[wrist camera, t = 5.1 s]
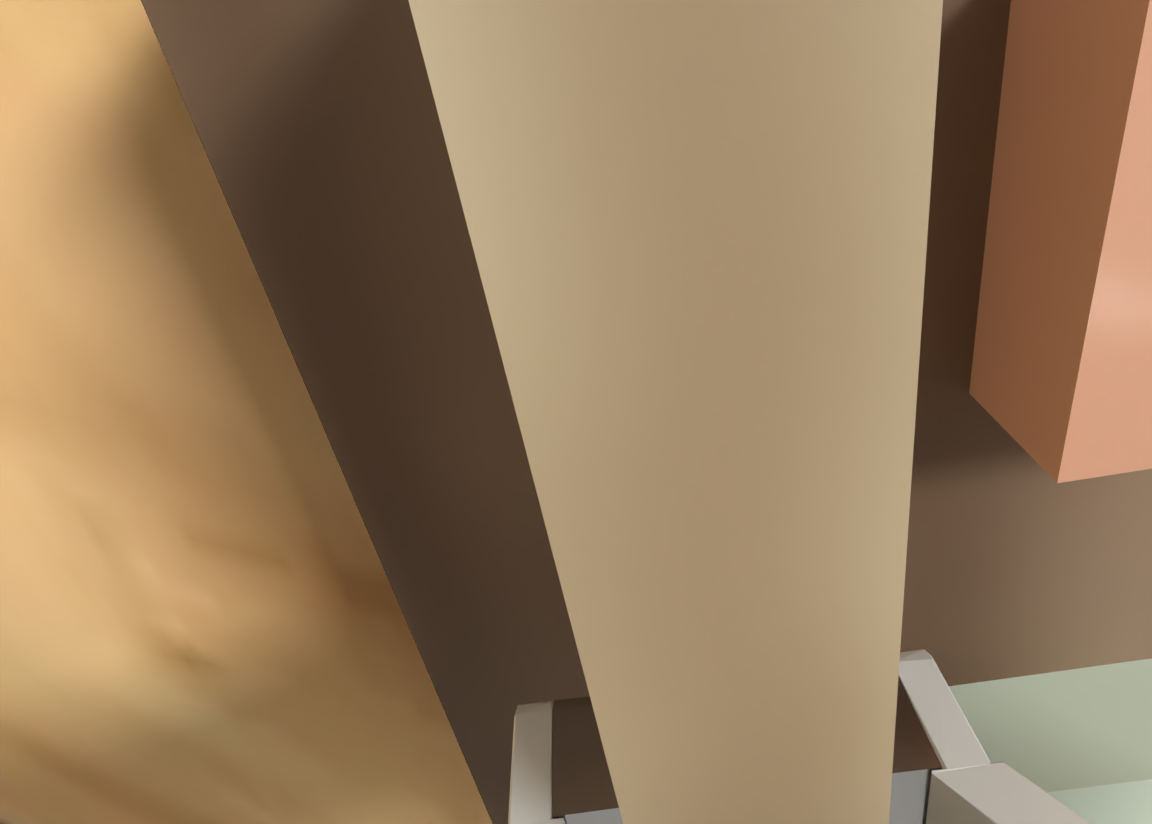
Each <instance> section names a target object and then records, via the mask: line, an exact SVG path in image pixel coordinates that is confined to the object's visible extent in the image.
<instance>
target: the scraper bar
mask: <svg viewBox="0 0 1152 824" xmlns="http://www.w3.org/2000/svg"><path fill="white" fill-rule="evenodd" d="M408 1H409V5H410V8H411V12H412V16H413V20H414V24H415V28H416V31H417V35H418V39H419V43H420V47H421V51H422V54H423V58H424V62H425V66H426V70H427V74H428V77H429V81H430V85H431V89H432V93H433V97H434V100H435V104H436V108H437V112H438V116H439V120H440V123H441V127H442V131H443V135H444V139H445V143H446V146H447V150H448V154H449V158H450V162H451V166H452V169H453V173H454V177H455V181H456V185H457V189H458V192H459V196H460V200H461V204H462V208H463V212H464V215H465V219H466V223H467V227H468V231H469V235H470V238H471V242H472V246H473V250H474V254H475V258H476V261H477V265H478V269H479V273H480V277H481V281H482V284H483V288H484V292H485V296H486V300H487V304H488V307H489V311H490V315H491V319H492V323H493V327H494V330H495V334H496V338H497V342H498V346H499V350H500V353H501V357H502V361H503V365H504V369H505V373H506V377H507V380H508V384H509V388H510V392H511V396H512V400H513V403H514V407H515V411H516V415H517V419H518V423H519V426H520V430H521V434H522V438H523V442H524V446H525V449H526V453H527V457H528V461H529V465H530V469H531V472H532V476H533V480H534V484H535V488H536V492H537V495H538V499H539V503H540V507H541V511H542V515H543V518H544V522H545V526H546V530H547V534H548V538H549V541H550V545H551V549H552V553H553V557H554V561H555V564H556V568H557V572H558V576H559V580H560V584H561V587H562V591H563V595H564V599H565V603H566V607H567V610H568V614H569V618H570V622H571V626H572V630H573V633H574V637H575V641H576V645H577V649H578V653H579V656H580V660H581V664H582V668H583V672H584V676H585V679H586V683H587V687H588V691H589V695H590V699H591V702H592V706H593V710H594V714H595V718H596V722H597V725H598V729H599V733H600V737H601V741H602V745H603V748H604V752H605V756H606V760H607V764H608V768H609V771H610V775H611V779H612V783H613V787H614V791H615V794H616V798H617V802H618V806H619V810H620V814H621V817H622V821H623V824H889V814H890V798H891V783H892V768H893V753H894V738H895V723H896V707H897V692H898V677H899V662H900V647H901V631H902V616H903V601H904V586H905V571H906V555H907V540H908V525H909V510H910V495H911V479H912V464H913V449H914V434H915V419H916V403H917V388H918V373H919V358H920V343H921V327H922V312H923V297H924V282H925V267H926V252H927V236H928V221H929V206H930V191H931V176H932V160H933V145H934V130H935V115H936V100H937V84H938V69H939V54H940V39H941V24H942V8H943V0H408Z"/></svg>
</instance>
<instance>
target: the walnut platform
mask: <svg viewBox="0 0 1152 824" xmlns="http://www.w3.org/2000/svg"><path fill="white" fill-rule="evenodd" d="M141 2H142V4H143V6H144V9H145V11H146V13H147V16H148V18H149V20H150V23H151V25H152V27H153V30H154V32H155V34H156V37H157V39H158V41H159V44H160V46H161V48H162V51H163V53H164V55H165V58H166V60H167V62H168V65H169V67H170V69H171V72H172V74H173V76H174V79H175V81H176V83H177V86H178V88H179V90H180V93H181V95H182V97H183V100H184V102H185V104H186V107H187V109H188V112H189V114H190V116H191V119H192V121H193V123H194V126H195V128H196V130H197V133H198V135H199V137H200V140H201V142H202V144H203V147H204V149H205V151H206V154H207V156H208V158H209V161H210V163H211V165H212V168H213V170H214V172H215V175H216V177H217V179H218V182H219V184H220V186H221V189H222V191H223V193H224V196H225V198H226V200H227V203H228V205H229V207H230V210H231V212H232V214H233V217H234V219H235V221H236V224H237V226H238V228H239V231H240V233H241V236H242V238H243V240H244V243H245V245H246V247H247V250H248V252H249V254H250V257H251V259H252V261H253V264H254V266H255V268H256V271H257V273H258V275H259V278H260V280H261V282H262V285H263V287H264V289H265V292H266V294H267V296H268V299H269V301H270V303H271V306H272V308H273V310H274V313H275V315H276V317H277V320H278V322H279V324H280V327H281V329H282V331H283V334H284V336H285V338H286V341H287V343H288V345H289V348H290V350H291V353H292V355H293V357H294V360H295V362H296V364H297V367H298V369H299V371H300V374H301V376H302V378H303V381H304V383H305V385H306V388H307V390H308V392H309V395H310V397H311V399H312V402H313V404H314V406H315V409H316V411H317V413H318V416H319V418H320V420H321V423H322V425H323V427H324V430H325V432H326V434H327V437H328V439H329V441H330V444H331V446H332V448H333V451H334V453H335V455H336V458H337V460H338V462H339V465H340V467H341V469H342V472H343V474H344V477H345V479H346V481H347V484H348V486H349V488H350V491H351V493H352V495H353V498H354V500H355V502H356V505H357V507H358V509H359V512H360V514H361V516H362V519H363V521H364V523H365V526H366V528H367V530H368V533H369V535H370V537H371V540H372V542H373V544H374V547H375V549H376V551H377V554H378V556H379V558H380V561H381V563H382V565H383V568H384V570H385V572H386V575H387V577H388V579H389V582H390V584H391V586H392V589H393V591H394V593H395V596H396V598H397V601H398V603H399V605H400V608H401V610H402V612H403V615H404V617H405V619H406V622H407V624H408V626H409V629H410V631H411V633H412V636H413V638H414V640H415V643H416V645H417V647H418V650H419V652H420V654H421V657H422V659H423V661H424V664H425V666H426V668H427V671H428V673H429V675H430V678H431V680H432V682H433V685H434V687H435V689H436V692H437V694H438V696H439V699H440V701H441V703H442V706H443V708H444V710H445V713H446V715H447V717H448V720H449V722H450V725H451V727H452V729H453V732H454V734H455V736H456V739H457V741H458V743H459V746H460V748H461V750H462V753H463V755H464V757H465V760H466V762H467V764H468V767H469V769H470V771H471V774H472V776H473V778H474V781H475V783H476V785H477V788H478V790H479V792H480V795H481V797H482V799H483V802H484V804H485V806H486V809H487V811H488V813H489V816H490V818H491V820H492V823H493V824H508V813H509V796H510V779H511V762H512V745H513V728H514V716H515V713H516V709H517V706H518V705H521V704H529V703H536V702H544V701H551V700H561V699H570V698H579V697H588V696H590V695H589V691H588V687H587V683H586V679H585V676H584V672H583V668H582V664H581V660H580V656H579V653H578V649H577V645H576V641H575V637H574V633H573V630H572V626H571V622H570V618H569V614H568V610H567V607H566V603H565V599H564V595H563V591H562V587H561V584H560V580H559V576H558V572H557V568H556V564H555V561H554V557H553V553H552V549H551V545H550V541H549V538H548V534H547V530H546V526H545V522H544V518H543V515H542V511H541V507H540V503H539V499H538V495H537V492H536V488H535V484H534V480H533V476H532V472H531V469H530V465H529V461H528V457H527V453H526V449H525V446H524V442H523V438H522V434H521V430H520V426H519V423H518V419H517V415H516V411H515V407H514V403H513V400H512V396H511V392H510V388H509V384H508V380H507V377H506V373H505V369H504V365H503V361H502V357H501V353H500V350H499V346H498V342H497V338H496V334H495V330H494V327H493V323H492V319H491V315H490V311H489V307H488V304H487V300H486V296H485V292H484V288H483V284H482V281H481V277H480V273H479V269H478V265H477V261H476V258H475V254H474V250H473V246H472V242H471V238H470V235H469V231H468V227H467V223H466V219H465V215H464V212H463V208H462V204H461V200H460V196H459V192H458V189H457V185H456V181H455V177H454V173H453V169H452V166H451V162H450V158H449V154H448V150H447V146H446V143H445V139H444V135H443V131H442V127H441V123H440V120H439V116H438V112H437V108H436V104H435V100H434V97H433V93H432V89H431V85H430V81H429V77H428V74H427V70H426V66H425V62H424V58H423V54H422V51H421V47H420V43H419V39H418V35H417V31H416V28H415V24H414V20H413V16H412V12H411V8H410V5H409V1H408V0H141ZM1010 4H1011V0H943V8H942V24H941V39H940V54H939V69H938V84H937V100H936V115H935V130H934V145H933V160H932V176H931V191H930V206H929V221H928V236H927V252H926V267H925V282H924V297H923V312H922V327H921V343H920V358H919V373H918V388H917V403H916V419H915V434H914V449H913V464H912V479H911V495H910V510H909V525H908V540H907V555H906V571H905V586H904V601H903V616H902V631H901V647H900V652H906V651H913V650H920V649H924V650H926V651H927V652H928V653H929V654H930V655H931V656H932V657H933V659H934V661H935V663H936V665H937V666H938V668H939V670H940V672H941V674H942V675H943V677H944V679H945V681H946V683H947V684H948V686H955V685H962V684H970V683H977V682H984V681H991V680H999V679H1006V678H1013V677H1021V676H1028V675H1035V674H1042V673H1050V672H1057V671H1064V670H1071V669H1079V668H1086V667H1093V666H1100V665H1108V664H1115V663H1122V662H1129V661H1137V660H1144V659H1151V658H1152V469H1146V470H1140V471H1133V472H1127V473H1120V474H1114V475H1107V476H1101V477H1095V478H1088V479H1082V480H1075V481H1069V482H1062V483H1056V482H1055V481H1054V480H1053V479H1052V477H1051V476H1050V475H1049V474H1048V473H1047V472H1046V471H1045V470H1044V469H1043V468H1042V467H1041V466H1040V465H1039V464H1038V463H1037V462H1036V461H1035V460H1034V459H1033V458H1032V457H1031V456H1030V455H1029V454H1028V453H1027V452H1026V451H1025V450H1024V449H1023V448H1022V447H1021V446H1020V445H1019V444H1018V443H1017V442H1016V441H1015V440H1014V439H1013V438H1012V437H1011V436H1010V434H1009V433H1008V432H1007V431H1006V430H1005V429H1004V428H1003V427H1002V426H1001V425H1000V424H999V423H998V422H997V421H996V420H995V419H994V418H993V417H992V416H991V415H990V414H989V413H988V412H987V411H986V410H985V409H984V408H983V407H982V406H981V405H980V404H979V403H978V402H977V401H976V400H975V399H974V398H973V397H972V396H971V395H970V394H969V390H970V381H971V371H972V362H973V353H974V343H975V334H976V324H977V315H978V306H979V296H980V287H981V277H982V268H983V258H984V249H985V240H986V230H987V221H988V211H989V202H990V193H991V183H992V174H993V164H994V155H995V146H996V136H997V127H998V117H999V108H1000V98H1001V89H1002V80H1003V70H1004V61H1005V51H1006V42H1007V33H1008V23H1009V14H1010Z"/></svg>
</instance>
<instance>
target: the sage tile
mask: <svg viewBox="0 0 1152 824" xmlns="http://www.w3.org/2000/svg"><path fill="white" fill-rule="evenodd" d="M949 688H950V690H951V692H952V693H953V695H954V697H955V699H956V701H957V702H958V704H959V706H960V708H961V710H962V711H963V713H964V715H965V717H966V719H967V720H968V722H969V724H970V726H971V728H972V729H973V731H974V733H975V735H976V737H977V738H978V740H979V742H980V744H981V746H982V747H983V749H984V751H985V753H986V755H987V757H988V758H989V760H990V762H991V763H997V762H1005V763H1006V764H1007V765H1009V766H1010V767H1012V768H1013V769H1014V770H1016V771H1017V772H1019V773H1020V774H1021V775H1023V776H1024V777H1026V778H1027V779H1028V780H1030V781H1031V782H1033V783H1034V784H1036V785H1037V786H1038V787H1040V788H1041V789H1043V790H1044V791H1045V792H1047V793H1048V794H1050V795H1051V796H1052V797H1054V798H1055V799H1057V800H1058V801H1060V802H1061V803H1062V804H1064V805H1065V806H1067V807H1068V808H1069V809H1071V810H1072V811H1074V812H1075V813H1076V814H1078V815H1079V816H1081V817H1082V818H1084V819H1085V820H1086V821H1088V822H1089V823H1091V824H1152V658H1151V659H1144V660H1137V661H1129V662H1122V663H1115V664H1108V665H1100V666H1093V667H1086V668H1079V669H1071V670H1064V671H1057V672H1050V673H1042V674H1035V675H1028V676H1021V677H1013V678H1006V679H999V680H991V681H984V682H977V683H970V684H962V685H955V686H949Z"/></svg>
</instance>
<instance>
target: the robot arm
mask: <svg viewBox="0 0 1152 824" xmlns="http://www.w3.org/2000/svg"><path fill="white" fill-rule="evenodd" d="M508 824H623V821H622V817H621V814H620V810H619V806H618V802H617V798H616V794H615V791H614V787H613V783H612V779H611V775H610V771H609V768H608V764H607V760H606V756H605V752H604V748H603V745H602V741H601V737H600V733H599V729H598V725H597V722H596V718H595V714H594V710H593V706H592V702H591V699H590V696H588V697H579V698H570V699H561V700H551V701H544V702H536V703H529V704H521V705H518V706H517V709H516V713H515V716H514V728H513V745H512V762H511V779H510V796H509V813H508ZM889 824H1091V823H1089V822H1088V821H1086V820H1085V819H1084V818H1082V817H1081V816H1079V815H1078V814H1076V813H1075V812H1074V811H1072V810H1071V809H1069V808H1068V807H1067V806H1065V805H1064V804H1062V803H1061V802H1060V801H1058V800H1057V799H1055V798H1054V797H1052V796H1051V795H1050V794H1048V793H1047V792H1045V791H1044V790H1043V789H1041V788H1040V787H1038V786H1037V785H1036V784H1034V783H1033V782H1031V781H1030V780H1028V779H1027V778H1026V777H1024V776H1023V775H1021V774H1020V773H1019V772H1017V771H1016V770H1014V769H1013V768H1012V767H1010V766H1009V765H1007V764H1006V763H1005V762H997V763H991V762H990V760H989V758H988V757H987V755H986V753H985V751H984V749H983V747H982V746H981V744H980V742H979V740H978V738H977V737H976V735H975V733H974V731H973V729H972V728H971V726H970V724H969V722H968V720H967V719H966V717H965V715H964V713H963V711H962V710H961V708H960V706H959V704H958V702H957V701H956V699H955V697H954V695H953V693H952V692H951V690H950V688H949V686H948V684H947V683H946V681H945V679H944V677H943V675H942V674H941V672H940V670H939V668H938V666H937V665H936V663H935V661H934V659H933V657H932V656H931V655H930V654H929V653H928V652H927V651H926V650H924V649H920V650H913V651H906V652H900V662H899V677H898V692H897V707H896V723H895V738H894V753H893V768H892V783H891V798H890V814H889Z"/></svg>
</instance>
